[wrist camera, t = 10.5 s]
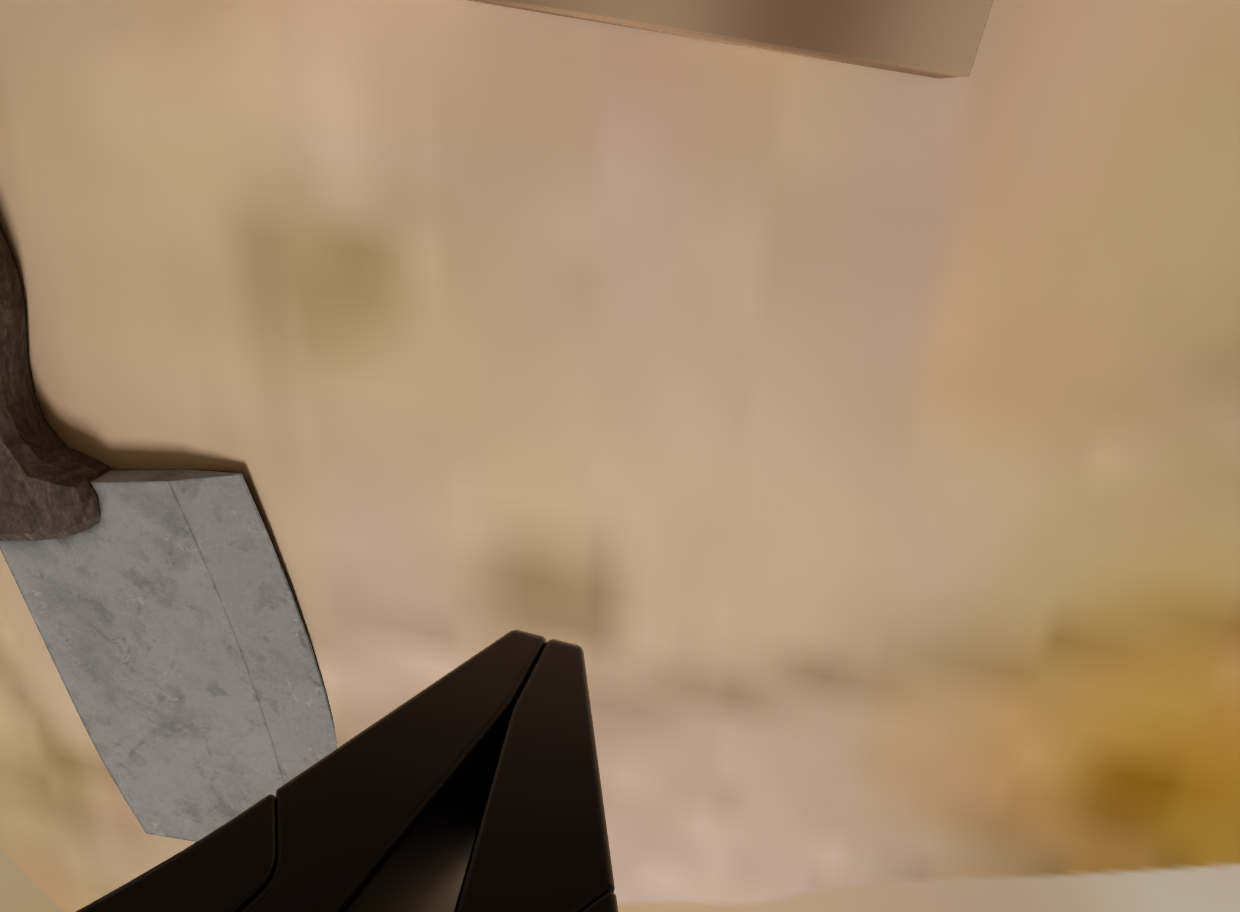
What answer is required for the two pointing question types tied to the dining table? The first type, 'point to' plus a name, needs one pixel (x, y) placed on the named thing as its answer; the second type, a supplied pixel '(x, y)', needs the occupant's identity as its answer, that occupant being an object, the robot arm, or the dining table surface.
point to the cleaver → (157, 614)
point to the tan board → (808, 27)
